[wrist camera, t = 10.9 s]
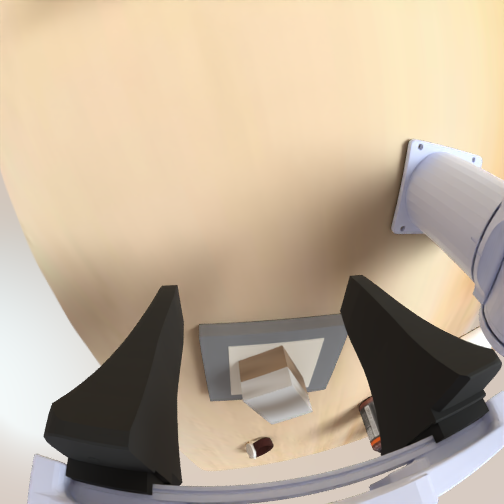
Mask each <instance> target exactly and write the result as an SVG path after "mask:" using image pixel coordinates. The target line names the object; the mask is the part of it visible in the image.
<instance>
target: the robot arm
mask: <svg viewBox="0 0 504 504" xmlns="http://www.w3.org/2000/svg"><path fill="white" fill-rule="evenodd" d="M419 144H420V148H419V149H418V146H419ZM481 165H482V158H481V157H480V156H478V155H475V154H472V153H468V152H465V151H461V150H458V149H454V148H450V147H447V146H443V145H439V144H435V143H430V142H426V141H422V140H417V139H411V140H410V141H409V144H408V150H407V156H406V162H405V167H404V173H403V178H402V183H401V188H400V192H399V197H398V201H397V206H396V210H395V214H394V218H393V222H392V226H391V230H392V231H393V232H394V233H395V234H426V235H427V236H428V237H429V238H430V239H431V240H432V241H433V242H434V243H435V244H436V245H437V246H438V247H440V248H441V249H442V250H443V251H444V252H445V253H446V254H447V255H448V256H449V257H450V258H451V259H452V260H453V261H454V262H455V263H456V264H457V265H458V266H459V267H460V268H461V269H462V270H463V271H464V272H465V273H466V274H467V275H468V276H469V277H470V279H471V280H472V281H473V282H474V283H475V288H474V291H473V295H474V296H475V297H476V299H477V300H478V301H479V302H480V303H481V306H480V309H479V323H480V327H481V330H482V332H483V334H484V336H485V338H486V339H487V341H488V342H489V344H490V345H491V346H492V347H493V348H494V349H495V350H496V351H497V352H498V353H499V354H501V355H502V356H503V357H504V180H502V179H500V178H499V177H497V176H495V175H493V174H491V173H490V172H488V171H486V170H484V169H482V168H481ZM402 226H403V227H402ZM401 227H402V228H401ZM400 228H401V229H400ZM340 312H341V316H342V319H343V322H344V326H345V329H346V331H347V334H348V336H349V338H350V340H351V343H352V345H353V347H354V349H355V351H356V354H357V356H358V358H359V360H360V362H361V365H362V367H363V369H364V372H365V374H366V377H367V380H368V383H369V387H370V390H371V394H372V398H373V402H374V406H375V410H376V415H377V420H378V426H379V432H380V440H381V450H382V456H380V457H378V458H374V459H371V460H369V461H365V462H362V463H359V464H355V465H352V466H349V467H345V468H341V469H338V470H334V471H330V472H325V473H321V474H316V475H311V476H307V477H301V478H295V479H290V480H283V481H276V482H268V483H259V484H250V485H236V486H207V487H206V486H205V487H204V486H180V485H181V483H182V476H181V468H180V458H179V444H178V423H177V392H178V382H179V374H180V366H181V358H182V350H183V335H184V320H183V315H182V310H181V304H180V298H179V292H178V286H177V285H171V286H162V287H161V288H160V289H159V291H158V293H157V294H156V296H155V298H154V299H153V301H152V303H151V304H150V306H149V307H148V309H147V310H146V312H145V313H144V315H143V316H142V318H141V319H140V321H139V322H138V323H137V325H136V326H135V327H134V329H133V330H132V331H131V333H130V334H129V335H128V337H127V338H126V339H125V341H124V342H123V343H122V344H121V345H120V347H119V348H118V349H117V350H116V351H115V352H114V353H113V354H112V355H111V357H110V358H109V359H108V360H107V361H106V362H105V363H104V364H103V365H102V366H101V367H100V368H99V369H98V370H96V371H95V372H94V373H93V374H92V375H91V376H90V377H88V378H87V379H86V380H85V381H84V382H82V383H81V384H80V385H78V386H77V387H76V388H75V389H73V390H72V391H70V392H69V393H67V394H66V395H64V396H63V397H61V398H60V399H58V400H57V401H55V402H54V403H52V406H51V409H50V412H49V415H48V420H47V423H46V428H45V432H44V438H45V440H46V441H47V442H48V443H49V444H50V445H51V446H52V447H54V448H55V449H57V450H58V451H59V452H61V453H62V454H63V455H65V456H67V457H68V462H67V464H65V463H63V462H60V461H57V460H54V459H51V458H48V457H44V456H42V455H39V454H35V455H34V459H33V465H32V471H31V477H30V484H29V492H28V502H27V504H247V503H248V504H249V503H259V502H268V501H275V500H282V499H289V498H294V497H300V496H305V495H310V494H315V493H319V492H323V491H327V490H332V489H335V488H339V487H343V486H346V485H350V484H353V483H357V482H360V481H363V480H366V479H369V478H372V477H375V476H378V475H380V474H383V473H385V472H388V471H391V470H393V469H396V468H398V467H401V466H403V465H405V464H407V465H406V466H405V467H403V468H401V469H399V470H397V471H394V472H392V473H390V474H389V475H388V476H387V477H385V478H384V479H382V480H380V481H378V482H376V483H374V484H371V485H370V487H369V488H370V491H368V492H365V493H362V494H359V495H356V496H352V497H349V498H346V499H342V500H339V501H335V502H331V503H328V504H437V503H438V501H439V500H438V497H439V496H441V495H442V494H444V493H445V492H447V491H448V490H450V489H451V488H453V487H454V486H455V485H457V484H458V483H460V482H461V481H462V480H464V479H465V478H467V477H468V476H469V475H471V474H472V473H473V472H475V471H476V470H477V469H478V468H480V467H481V466H482V465H483V464H484V463H486V462H487V461H488V460H489V459H490V458H492V457H493V456H494V455H495V454H496V453H497V452H498V451H500V450H501V449H502V448H503V447H504V391H501V392H499V393H498V394H496V395H495V396H493V397H492V398H490V399H489V400H488V401H487V402H484V400H483V398H484V397H485V396H486V393H485V392H484V390H483V389H484V388H485V387H486V385H487V384H488V383H489V382H490V381H491V380H492V379H493V377H495V375H496V374H497V372H498V371H499V370H500V368H501V365H502V362H501V361H500V359H499V357H498V356H497V354H496V353H495V351H494V350H493V349H490V348H486V347H483V346H480V345H476V344H473V343H471V342H468V341H465V340H463V339H460V338H458V337H456V336H453V335H451V334H449V333H447V332H445V331H443V330H441V329H439V328H437V327H436V326H434V325H432V324H430V323H429V322H427V321H425V320H424V319H422V318H421V317H419V316H417V315H416V314H415V313H413V312H412V311H410V310H409V309H407V308H406V307H405V306H403V305H402V304H400V303H399V302H398V301H396V300H395V299H394V298H392V297H391V296H390V295H389V294H387V293H386V292H385V291H383V290H382V289H381V288H379V287H378V286H377V285H376V284H374V283H373V282H372V281H370V280H369V279H367V278H366V277H364V276H363V275H356V276H350V278H349V281H348V285H347V289H346V292H345V296H344V299H343V303H342V306H341V310H340Z"/></svg>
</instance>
